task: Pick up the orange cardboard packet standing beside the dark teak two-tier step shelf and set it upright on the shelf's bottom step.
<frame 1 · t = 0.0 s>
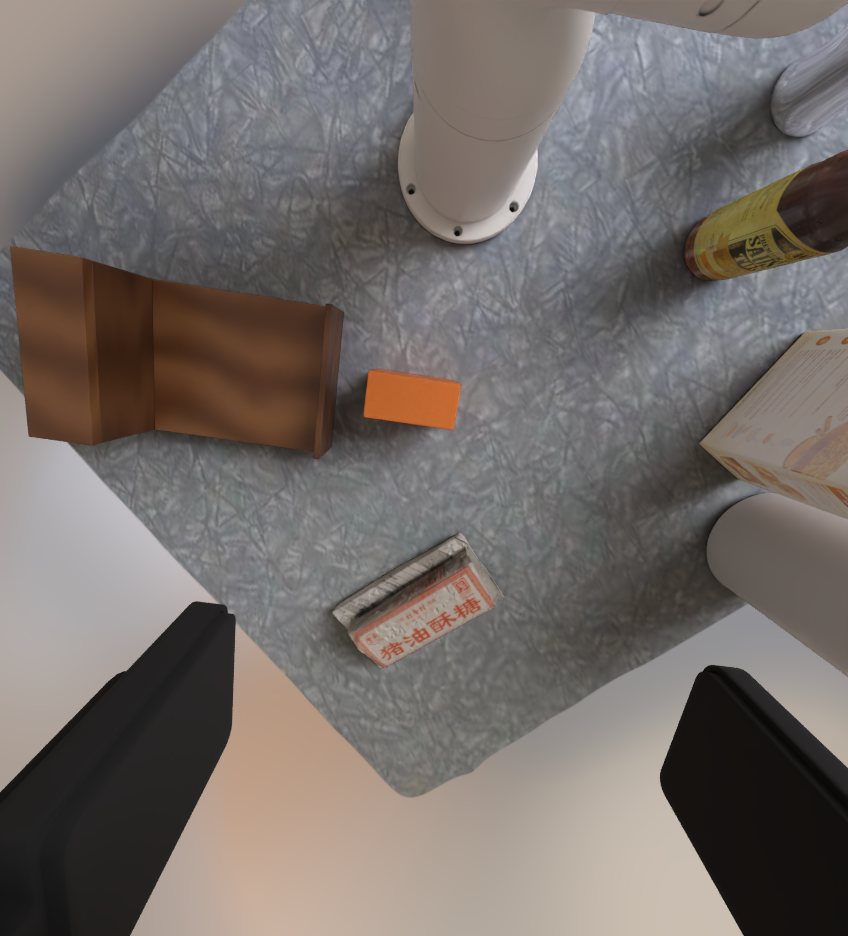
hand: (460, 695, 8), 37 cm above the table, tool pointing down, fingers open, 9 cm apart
packaged product: (418, 597, 49), on the table
coffeecake box: (768, 408, 44), on the table
sauce bottle: (712, 249, 40), on the table
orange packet: (413, 393, 43), on the table
shelf: (231, 366, 42), on the table
cylinder vase: (755, 540, 48), on the table
beer glass: (802, 99, 37), on the table
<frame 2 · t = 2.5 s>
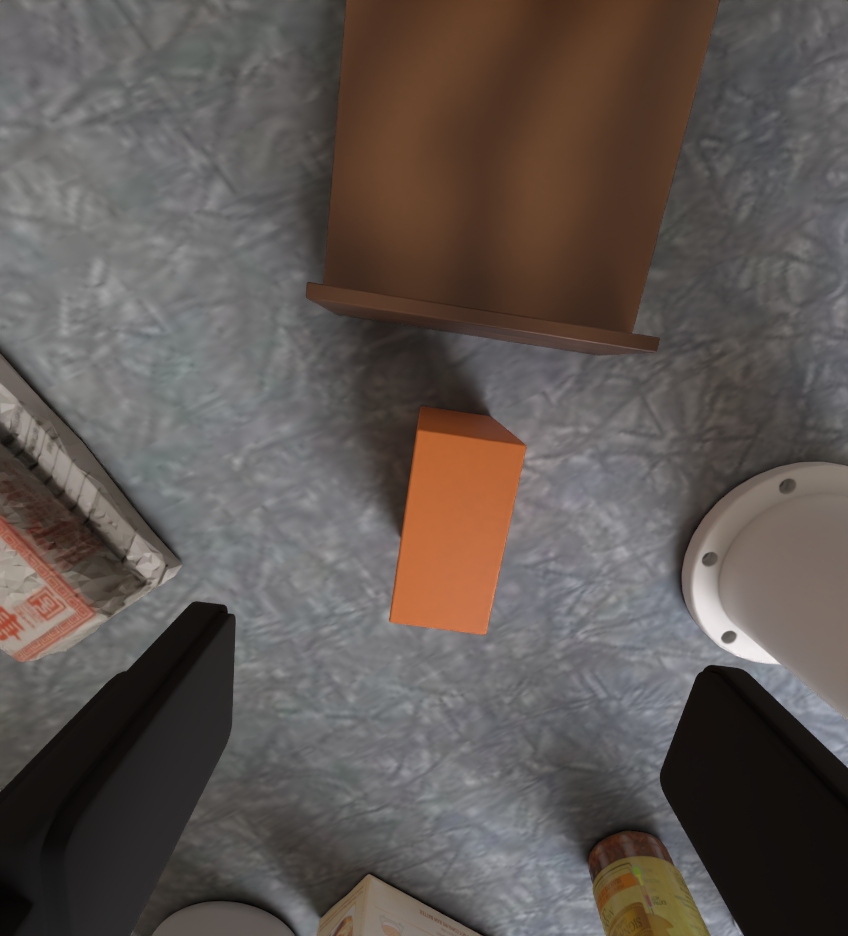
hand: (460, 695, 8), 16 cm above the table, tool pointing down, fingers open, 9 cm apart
packaged product: (26, 486, 24), on the table
coffeecake box: (418, 931, 33), on the table
sauce bottle: (622, 853, 31), on the table
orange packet: (444, 480, 23), on the table
shelf: (511, 84, 19), on the table
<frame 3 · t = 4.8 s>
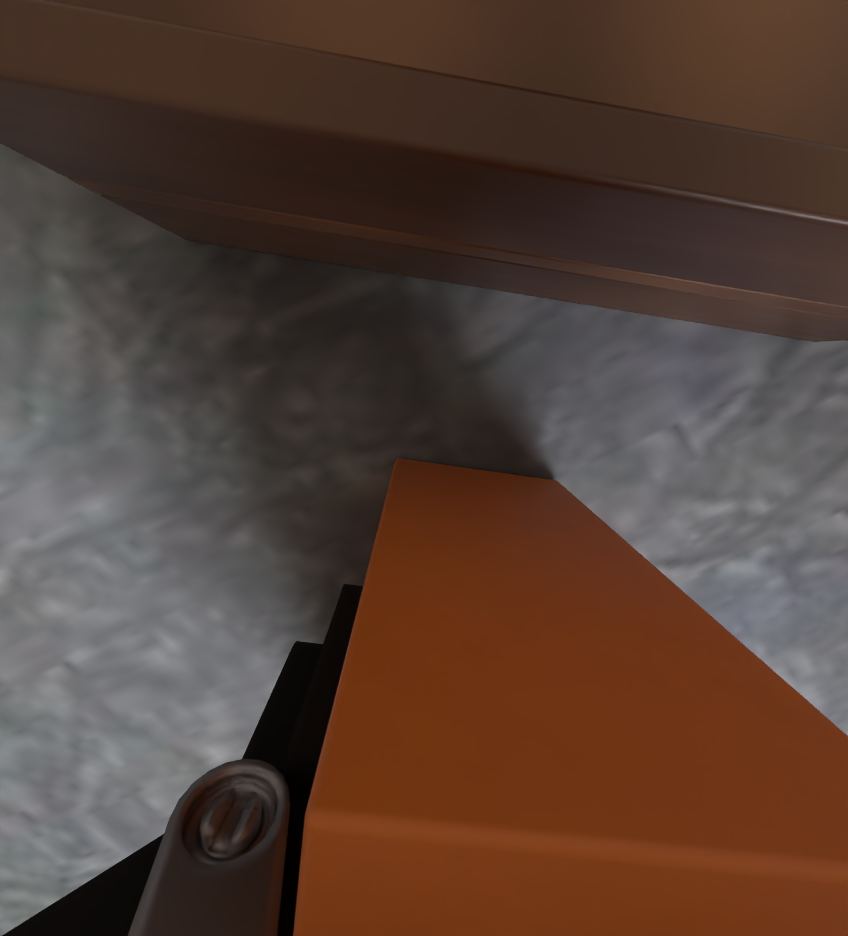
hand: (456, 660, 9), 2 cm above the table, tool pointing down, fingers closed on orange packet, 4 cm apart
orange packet: (450, 611, 11), on the table, touching gripper
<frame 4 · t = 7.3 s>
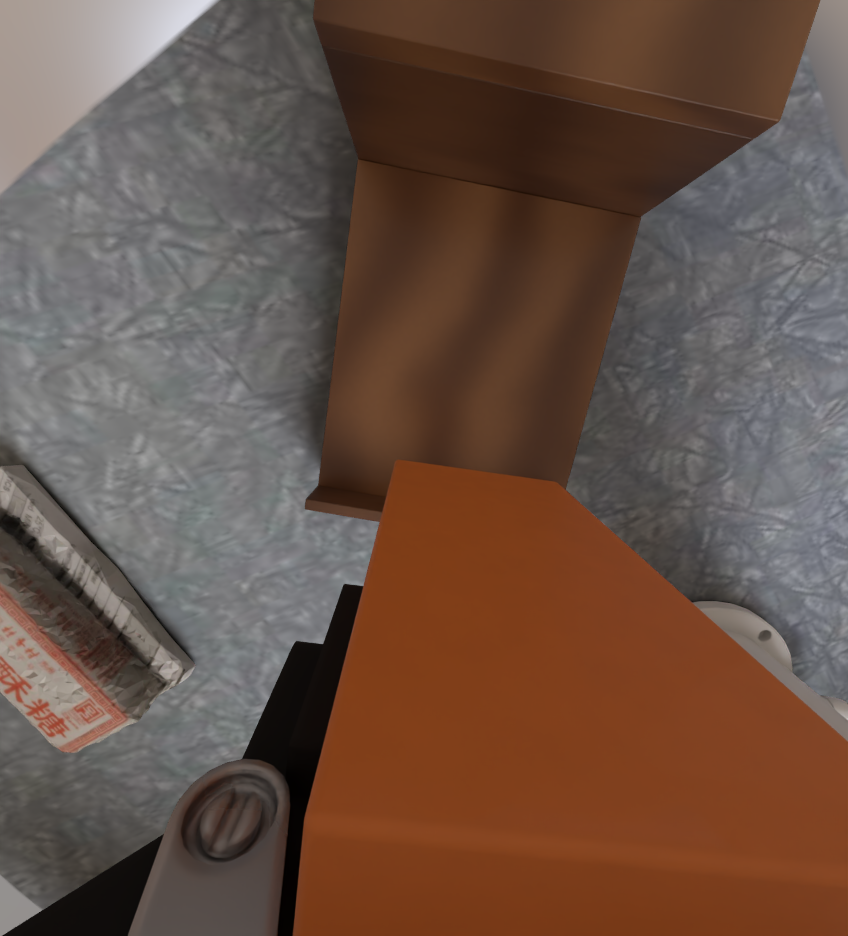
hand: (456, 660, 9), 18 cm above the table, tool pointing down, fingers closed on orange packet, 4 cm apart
packaged product: (69, 599, 29), on the table
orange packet: (450, 612, 11), point 16 cm above the table, touching gripper
shelf: (469, 323, 24), on the table
when the fingers open (5 cm above the table, at t = 10.2 s): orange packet stays where it is, resting on shelf.
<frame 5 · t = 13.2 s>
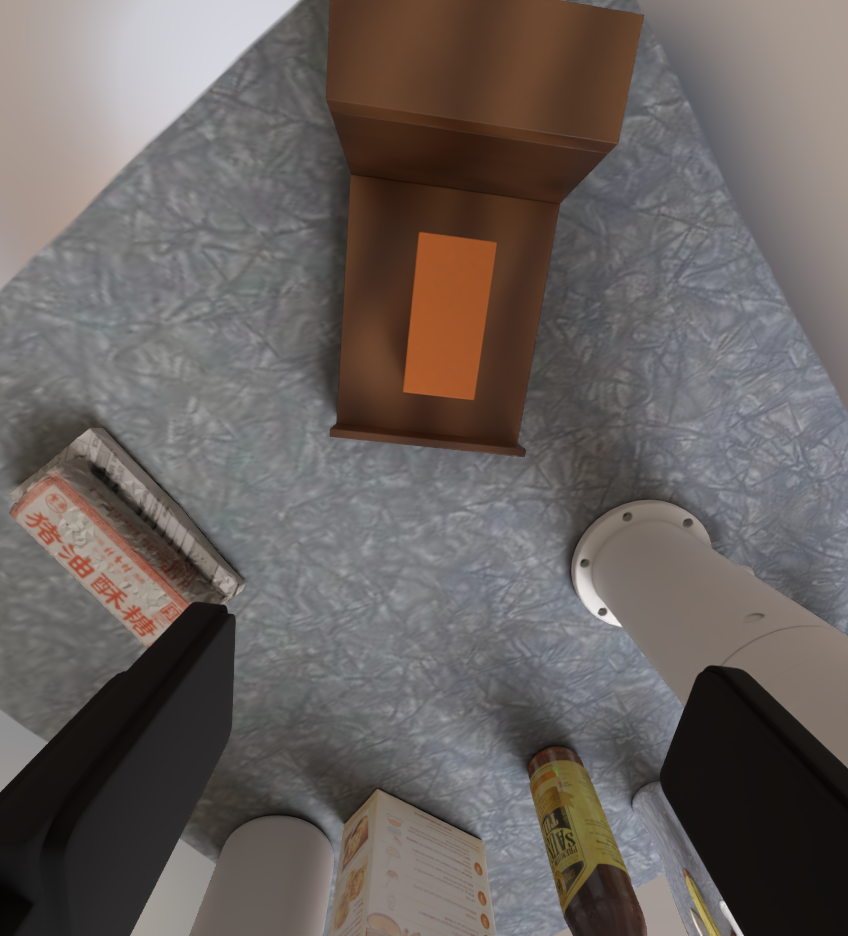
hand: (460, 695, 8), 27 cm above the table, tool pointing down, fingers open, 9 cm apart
packaged product: (141, 536, 36), on the table
coffeecake box: (414, 830, 47), on the table
sauce bottle: (552, 763, 45), on the table
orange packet: (438, 329, 29), point 3 cm above the table, touching shelf
shelf: (442, 293, 31), on the table
cylinder vase: (281, 849, 47), on the table
beer glass: (657, 798, 46), on the table
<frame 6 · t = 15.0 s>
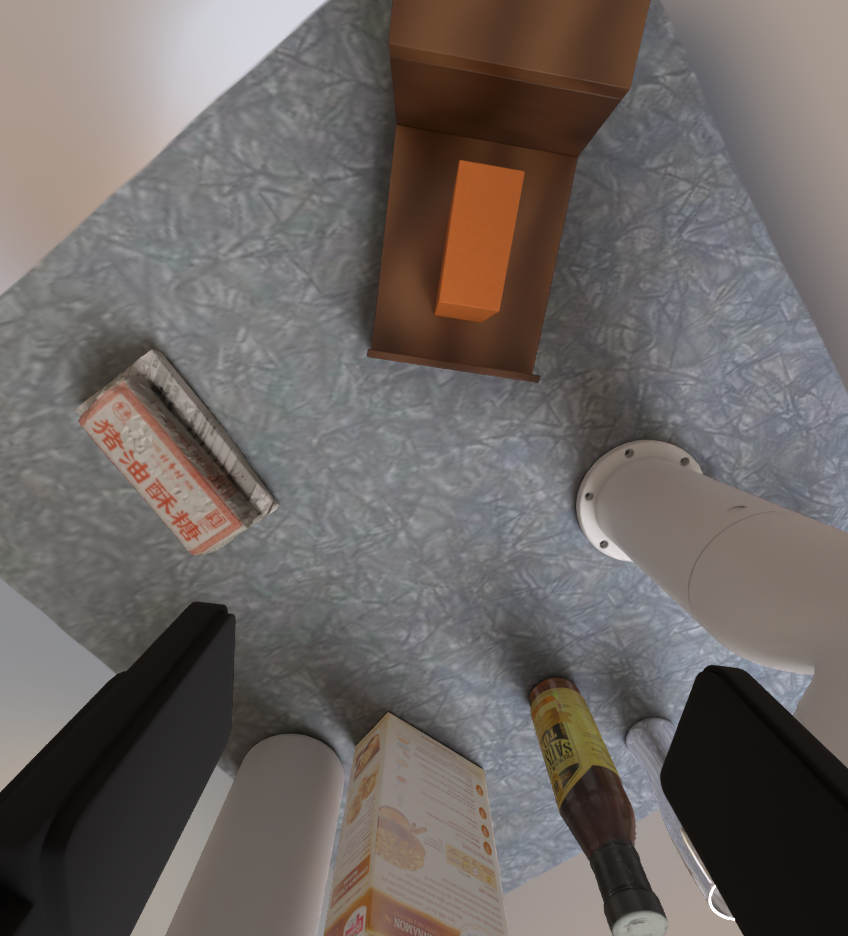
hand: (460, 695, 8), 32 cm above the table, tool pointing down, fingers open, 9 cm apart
packaged product: (188, 456, 40), on the table
coffeecake box: (420, 756, 50), on the table
sauce bottle: (552, 696, 48), on the table
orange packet: (466, 267, 33), point 3 cm above the table, touching shelf
shelf: (469, 239, 35), on the table
cylinder vase: (295, 768, 50), on the table
beer glass: (649, 735, 49), on the table
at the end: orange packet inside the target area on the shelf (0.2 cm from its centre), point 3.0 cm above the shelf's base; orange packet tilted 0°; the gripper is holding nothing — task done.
